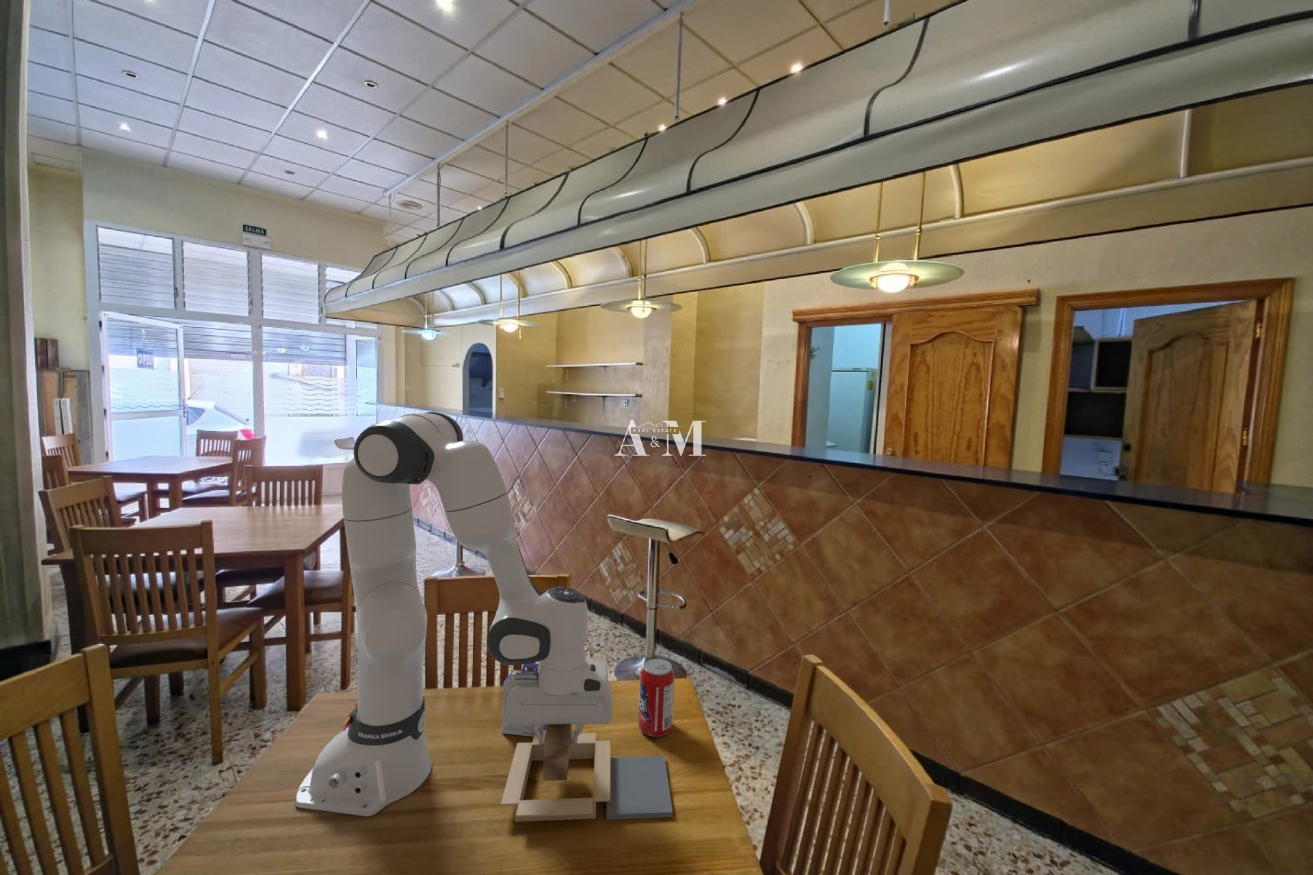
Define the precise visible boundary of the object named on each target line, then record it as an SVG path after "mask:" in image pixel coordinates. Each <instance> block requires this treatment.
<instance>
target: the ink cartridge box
mask: <svg viewBox="0 0 1313 875" xmlns="http://www.w3.org/2000/svg"><path fill="white" fill-rule="evenodd" d="M526 668H533V669H534V670H526ZM538 670H539V663H529V664H522V669H521V670H517V669H512V671H510V673H509V674H508V676H507V677H506V678H505V680H504V681H503V694H502V695H503V699H502V731H501V733H502V734H504V735H505V734H507V735H514V736H515V735H516V736H524V737H533V738H534V734H536V732H535V731H534V729H533V726H534V724H508V723H507V721H506V720H505V711H506V705H507V700H508V695H507V693H506V690H505V687H506V680H507V679H508V677H510V676H511V675H514V674H515V673H538ZM513 678H514V677H513ZM541 726H542V728H543V730H546V729H547V724H541Z"/></svg>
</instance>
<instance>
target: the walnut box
mask: <svg viewBox="0 0 1313 875" xmlns="http://www.w3.org/2000/svg"><path fill="white" fill-rule="evenodd" d="M572 725H573V724H547V729H546V735H545V741H544V760H542V761H543V766H542V782H543V781H544V782H546V781H549V782H550V781H552V782H553V781H567V780H568V772H569V771H568V770H569V762H570V759H569V755H570V746H571V744H570V731H571V730H572Z"/></svg>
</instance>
